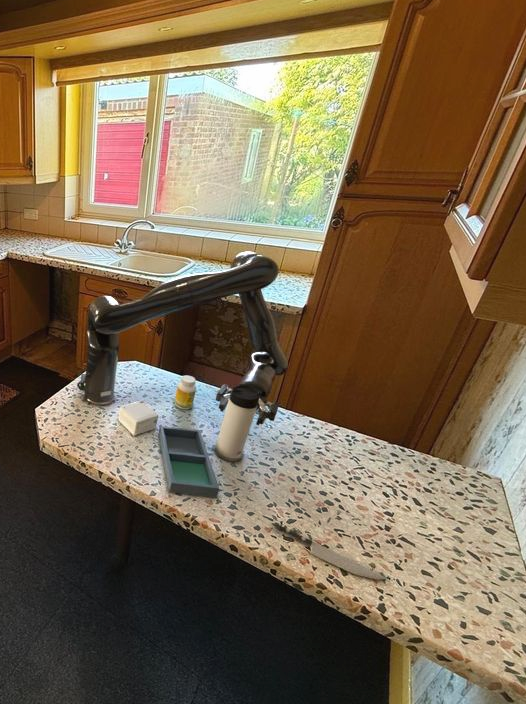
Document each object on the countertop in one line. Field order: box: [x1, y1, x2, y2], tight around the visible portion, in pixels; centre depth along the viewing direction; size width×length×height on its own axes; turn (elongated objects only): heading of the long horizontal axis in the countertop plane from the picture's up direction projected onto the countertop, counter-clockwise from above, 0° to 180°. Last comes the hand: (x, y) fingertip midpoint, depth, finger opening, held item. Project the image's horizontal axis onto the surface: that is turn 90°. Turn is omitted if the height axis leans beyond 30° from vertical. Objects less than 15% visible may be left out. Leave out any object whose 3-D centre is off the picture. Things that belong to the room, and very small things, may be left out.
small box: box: [117, 400, 159, 437], centre depth 114 cm, size 8×8×5 cm
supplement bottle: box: [173, 374, 197, 410], centre depth 121 cm, size 5×5×10 cm
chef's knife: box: [273, 523, 388, 580], centre depth 79 cm, size 19×1×3 cm
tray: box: [157, 425, 220, 499], centre depth 101 cm, size 11×20×3 cm, turn 171°
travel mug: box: [214, 385, 263, 462], centre depth 100 cm, size 6×7×20 cm
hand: (239, 415), depth 100 cm, fingers open, 8 cm apart
